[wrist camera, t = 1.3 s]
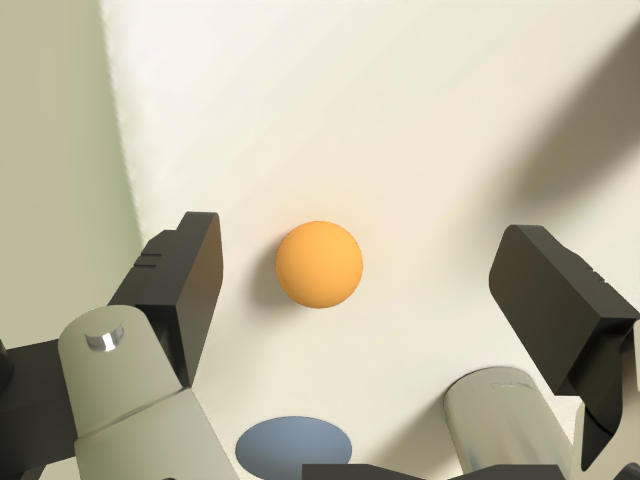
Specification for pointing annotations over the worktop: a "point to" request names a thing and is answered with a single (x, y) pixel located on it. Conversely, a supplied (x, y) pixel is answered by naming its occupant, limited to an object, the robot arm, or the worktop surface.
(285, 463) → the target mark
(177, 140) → the worktop surface
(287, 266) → the ball
